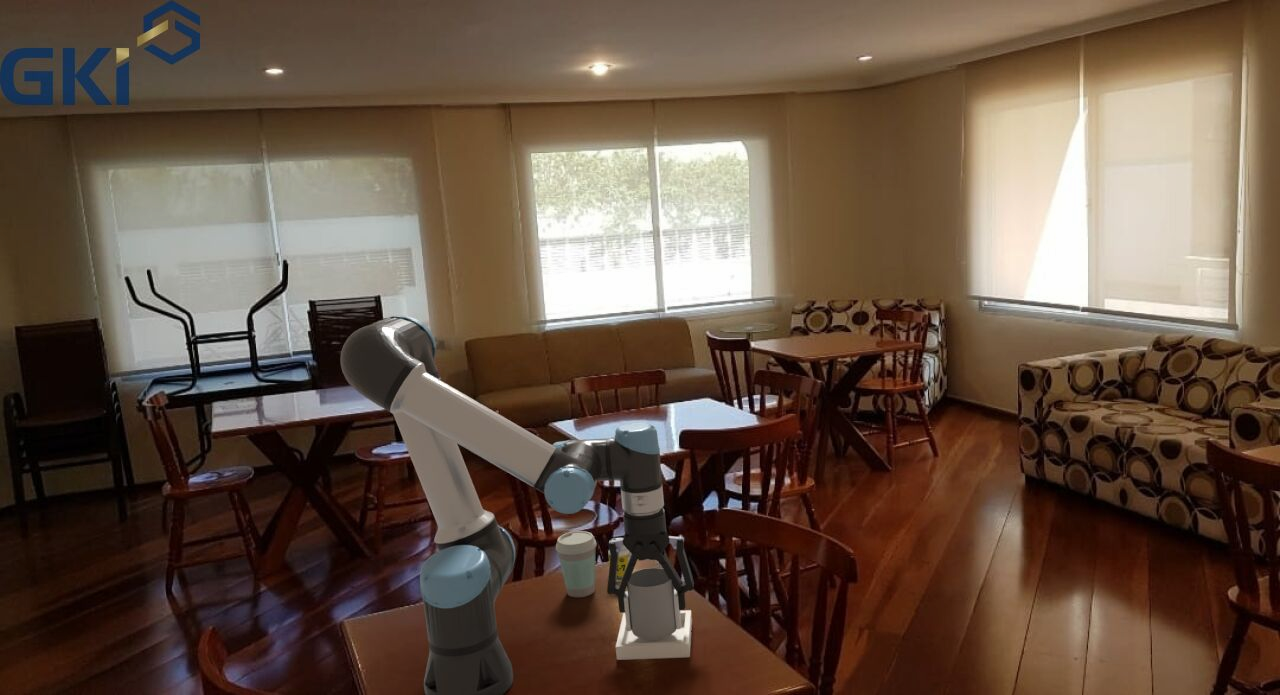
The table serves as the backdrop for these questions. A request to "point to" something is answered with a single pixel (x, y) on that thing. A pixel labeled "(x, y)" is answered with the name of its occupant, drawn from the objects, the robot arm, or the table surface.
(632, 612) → the cup
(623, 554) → the supplement bottle
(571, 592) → the coffee cup
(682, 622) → the tray
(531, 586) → the table surface
